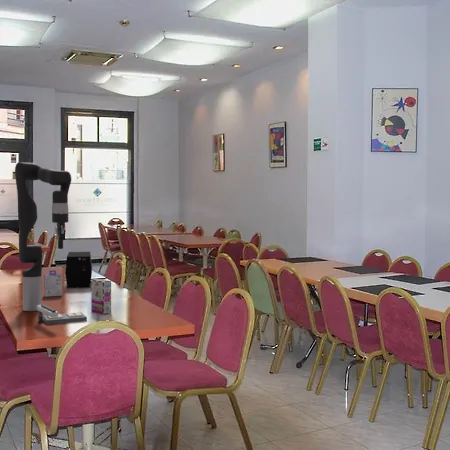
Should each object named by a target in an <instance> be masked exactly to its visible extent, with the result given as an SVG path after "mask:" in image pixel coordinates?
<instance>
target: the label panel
mask: <svg viewBox="0 0 450 450" xmlns="http://www.w3.org/2000/svg"><path fill="white" fill-rule="evenodd" d="M43 321H44V323H45V324H46V325H47V326H48V325H58V324H59V325H60V324H71V323H82V322H87V321H88V317H87V316H86V315H85V314H84V313H83V312H79V311H78V312H69V313H68V312H66V313H58V317H50V316H48V315H46V314H43Z"/></svg>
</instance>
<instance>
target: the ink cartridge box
mask: <svg viewBox="0 0 450 450" xmlns="http://www.w3.org/2000/svg"><path fill="white" fill-rule="evenodd" d="M43 280H44V281H43V282H44V283H43V284H44V287H43V288H44V297H60V296H63V274H60V273H57V271H56V270H49V274H44V275H43Z"/></svg>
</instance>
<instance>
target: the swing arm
mask: <svg viewBox="0 0 450 450" xmlns="http://www.w3.org/2000/svg"><path fill="white" fill-rule="evenodd" d="M38 311H40V312H42V313H43V315H48V316H50V317H58V314H59V311H57V310H56V309H54V308H52V307H50V306H48V305H46V304H44V303H42V304H41V305H37V312H38Z"/></svg>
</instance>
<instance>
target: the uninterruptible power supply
mask: <svg viewBox="0 0 450 450" xmlns="http://www.w3.org/2000/svg"><path fill="white" fill-rule="evenodd" d="M92 263H93V261H92V255H91V251H68V253H67V256H66V262H65V271H64V275H65V281H66V282H65V283H66V288H67V289H87V288H90V289H91V280H92V274H93V264H92Z"/></svg>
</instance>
